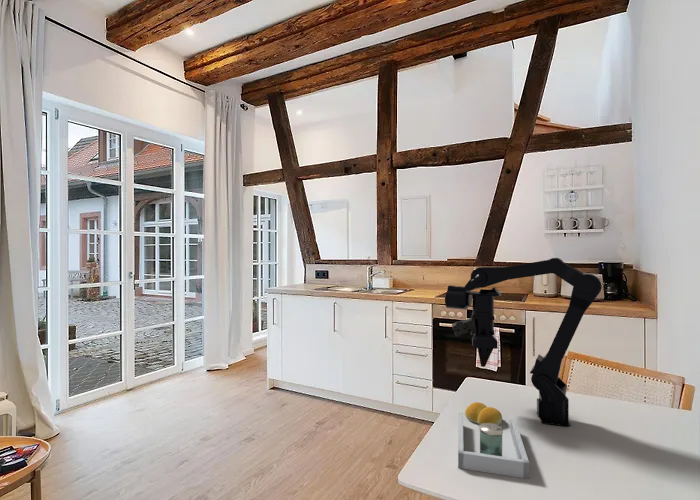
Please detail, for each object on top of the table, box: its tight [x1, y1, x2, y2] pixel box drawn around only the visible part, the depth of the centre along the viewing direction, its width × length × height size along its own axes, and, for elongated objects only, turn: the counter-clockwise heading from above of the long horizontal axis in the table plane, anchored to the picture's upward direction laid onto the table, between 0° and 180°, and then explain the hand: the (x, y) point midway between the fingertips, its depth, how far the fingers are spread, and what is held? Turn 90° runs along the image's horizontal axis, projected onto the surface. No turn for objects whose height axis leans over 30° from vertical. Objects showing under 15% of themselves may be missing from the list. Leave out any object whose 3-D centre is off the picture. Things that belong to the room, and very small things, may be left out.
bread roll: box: [464, 401, 503, 426], centre depth 99 cm, size 8×9×4 cm
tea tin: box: [479, 423, 504, 457], centre depth 80 cm, size 5×5×6 cm
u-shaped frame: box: [457, 412, 530, 480], centre depth 84 cm, size 13×20×3 cm, turn 164°
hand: (482, 366), depth 108 cm, fingers closed
